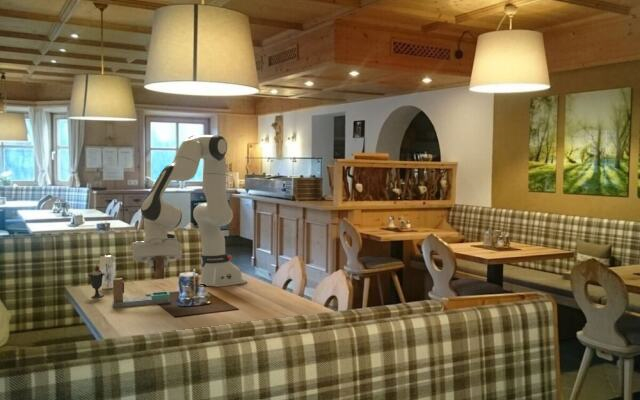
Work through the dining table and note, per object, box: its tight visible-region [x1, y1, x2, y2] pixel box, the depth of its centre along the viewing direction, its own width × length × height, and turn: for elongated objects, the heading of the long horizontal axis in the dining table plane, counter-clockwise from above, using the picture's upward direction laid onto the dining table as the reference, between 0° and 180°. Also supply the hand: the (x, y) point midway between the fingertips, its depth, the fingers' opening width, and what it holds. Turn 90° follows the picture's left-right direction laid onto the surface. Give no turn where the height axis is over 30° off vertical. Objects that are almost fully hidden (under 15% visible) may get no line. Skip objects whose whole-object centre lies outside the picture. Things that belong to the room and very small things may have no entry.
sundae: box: [88, 263, 104, 299], centre depth 253 cm, size 7×7×15 cm
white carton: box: [99, 254, 116, 290], centre depth 274 cm, size 7×7×15 cm
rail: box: [112, 277, 171, 309], centre depth 239 cm, size 22×7×11 cm, turn 111°
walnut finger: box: [152, 256, 165, 280], centre depth 241 cm, size 4×4×9 cm
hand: (159, 266), depth 240 cm, fingers closed on walnut finger, 4 cm apart
